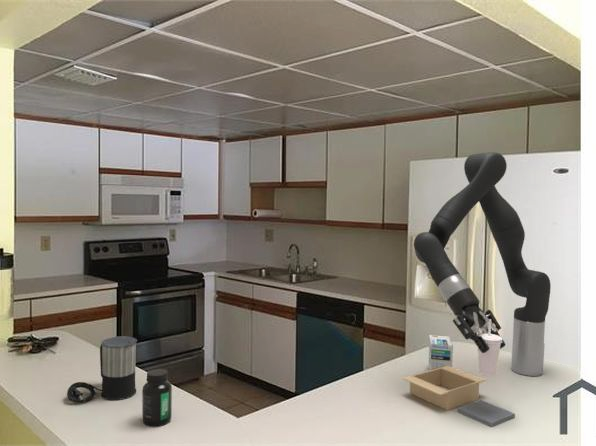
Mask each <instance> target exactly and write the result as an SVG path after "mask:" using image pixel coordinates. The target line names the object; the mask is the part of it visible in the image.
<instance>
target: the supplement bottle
mask: <svg viewBox="0 0 596 446" xmlns="http://www.w3.org/2000/svg"><path fill="white" fill-rule="evenodd" d="M168 373H169V372H168V370H166V369H162V368H156V369H151V370H149V371H148V372H147V373H146V382H145V384H144V385H143V386H142V395H141V396H142V397H141V398H142V401H141V402H142V403H141V405H142V408H141V409H142V411H141V414H142V415H141V416H142V419H141V420H142V423H143V424H144V425H145V426H147V427H154V428H156V427H162V426H165V425H168V423H170V421H171V419H172V412H173V411H172V409H173V408H172V406H173V405H172V403H173V401H172V400H173V397H172V396H173V387H172V383H171V382H170V381H168V380H169V376H168V375H169V374H168Z"/></svg>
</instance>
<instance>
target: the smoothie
mask: <svg viewBox="0 0 596 446" xmlns="http://www.w3.org/2000/svg"><path fill="white" fill-rule="evenodd" d="M490 333H491V319H489V327H488V333H486V332H481V333H480V336H482V338H483V339H484V341H485V342H486V344H487V345H488V347H489V350H488V351H487V352H485V353H482V352H481V351H480V350H479V348H478V347H477V355H478V369H479V373H480V374H481V375H483V376H487V377H493V376H495V375H496V371H497V365H498V361H499V355H500V345H501V343H502V339H503V338H502V336H501V335H500V336H501V337H500V336H498V335H494V334H490Z"/></svg>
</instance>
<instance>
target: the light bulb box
mask: <svg viewBox="0 0 596 446" xmlns="http://www.w3.org/2000/svg"><path fill="white" fill-rule="evenodd" d="M428 341H429V342H428V369H429V370H428V371H430V370H434V369H438V368H441V367H445V366H450V367H453V356H454V355H453V353H454V345H453V343H452V340H451V336H445V335H444V336H443V335H435V334H434V335H433V334H429V339H428Z"/></svg>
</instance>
